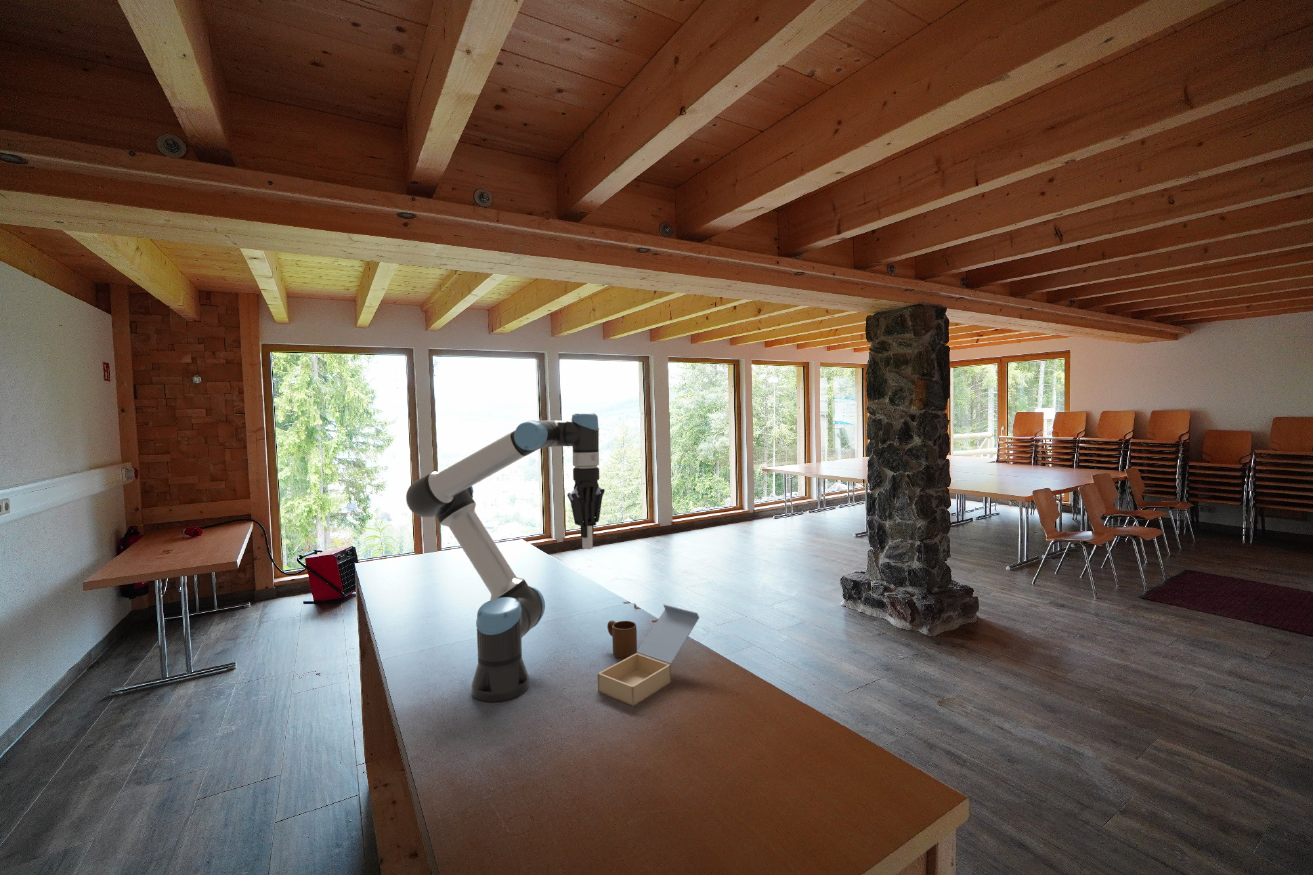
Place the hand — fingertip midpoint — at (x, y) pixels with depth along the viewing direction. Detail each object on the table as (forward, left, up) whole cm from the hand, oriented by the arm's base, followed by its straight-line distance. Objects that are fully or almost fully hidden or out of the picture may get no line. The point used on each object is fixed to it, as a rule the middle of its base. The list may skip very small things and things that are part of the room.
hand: (587, 548), depth 159 cm
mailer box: (+8, -15, -36) cm, 40 cm away
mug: (+13, +8, -37) cm, 40 cm away
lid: (+21, -9, -25) cm, 34 cm away
